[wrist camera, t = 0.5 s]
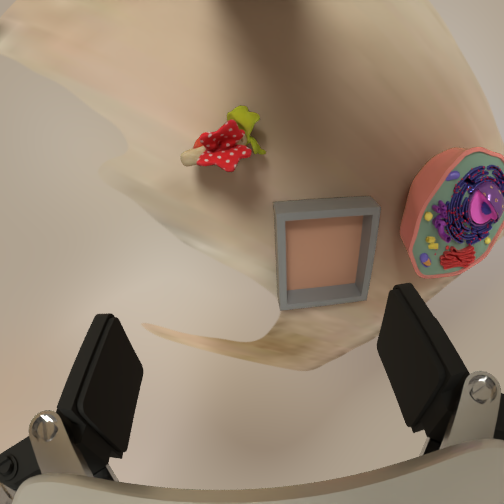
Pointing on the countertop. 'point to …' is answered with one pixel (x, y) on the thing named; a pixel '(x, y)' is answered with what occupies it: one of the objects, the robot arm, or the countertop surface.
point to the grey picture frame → (324, 250)
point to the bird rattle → (225, 142)
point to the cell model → (454, 211)
